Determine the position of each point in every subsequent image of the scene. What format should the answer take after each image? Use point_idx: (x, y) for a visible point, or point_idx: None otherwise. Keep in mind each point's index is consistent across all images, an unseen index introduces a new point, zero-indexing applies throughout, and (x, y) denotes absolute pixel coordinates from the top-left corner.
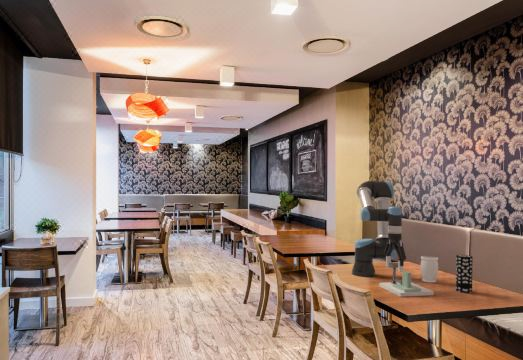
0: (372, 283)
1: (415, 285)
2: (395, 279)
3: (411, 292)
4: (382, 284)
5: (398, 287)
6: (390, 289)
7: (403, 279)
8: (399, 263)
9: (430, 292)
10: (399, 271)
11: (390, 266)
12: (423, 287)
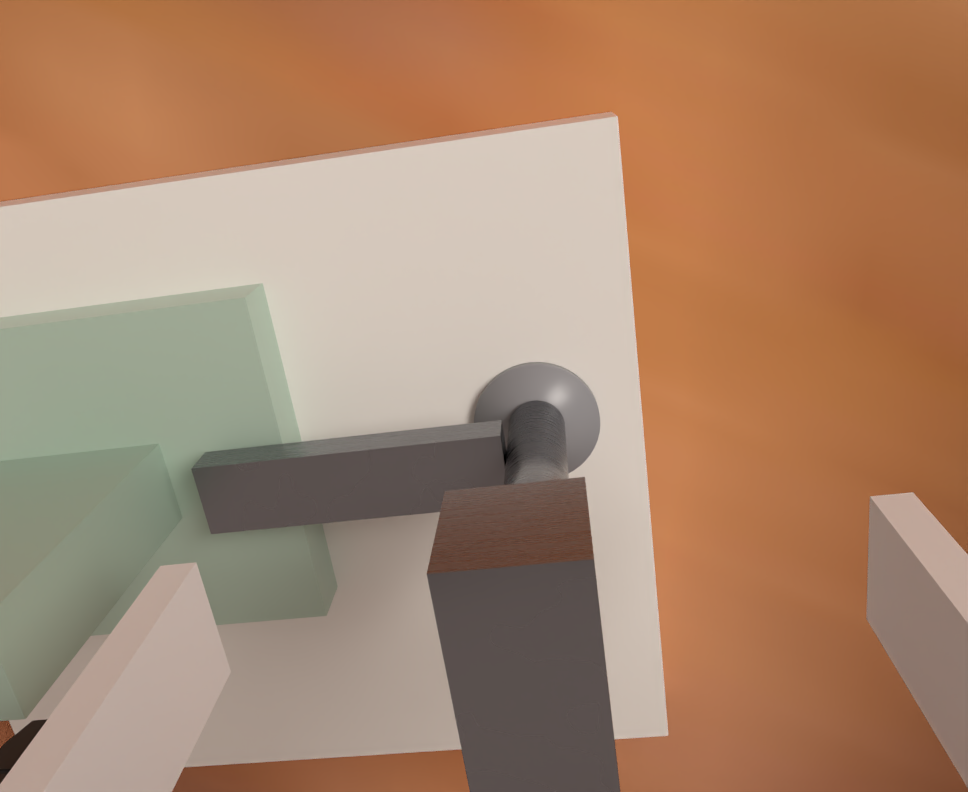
0: (880, 49)
1: (390, 706)
2: (427, 450)
3: None
4: (465, 139)
5: (42, 320)
6: (148, 183)
7: (52, 510)
8: (34, 759)
9: (21, 725)
10: (161, 583)
11: (466, 509)
12: (264, 756)
